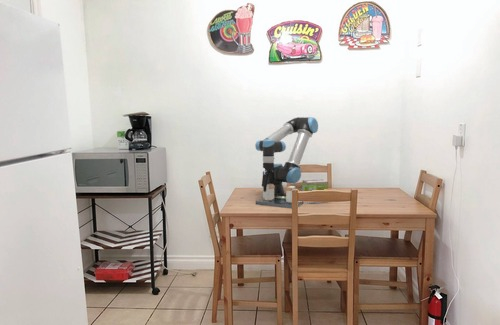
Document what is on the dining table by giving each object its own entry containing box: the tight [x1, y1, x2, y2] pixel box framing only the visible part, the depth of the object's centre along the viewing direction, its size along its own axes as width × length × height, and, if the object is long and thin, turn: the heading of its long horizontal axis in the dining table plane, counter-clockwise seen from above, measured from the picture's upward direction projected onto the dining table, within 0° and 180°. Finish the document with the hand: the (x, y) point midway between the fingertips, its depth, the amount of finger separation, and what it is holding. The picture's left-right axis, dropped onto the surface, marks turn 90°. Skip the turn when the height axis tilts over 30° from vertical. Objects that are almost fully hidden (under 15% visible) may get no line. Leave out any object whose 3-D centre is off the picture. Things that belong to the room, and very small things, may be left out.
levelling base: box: [255, 195, 304, 209], centre depth 236 cm, size 16×28×4 cm, turn 64°
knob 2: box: [285, 185, 296, 203], centre depth 232 cm, size 8×5×10 cm, turn 154°
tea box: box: [301, 178, 329, 204], centre depth 241 cm, size 15×10×15 cm, turn 106°
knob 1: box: [262, 184, 275, 201], centre depth 239 cm, size 8×5×10 cm, turn 34°
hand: (268, 194), depth 239 cm, fingers open, 10 cm apart
